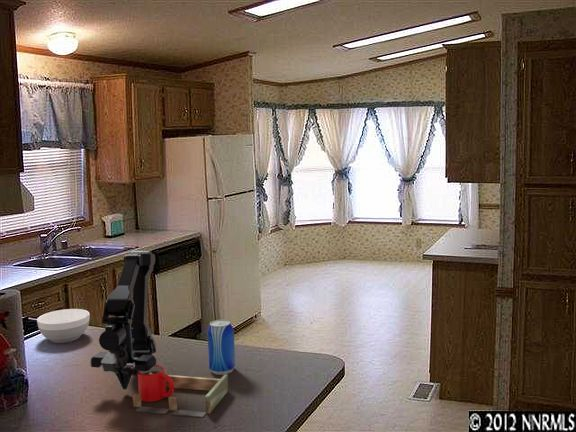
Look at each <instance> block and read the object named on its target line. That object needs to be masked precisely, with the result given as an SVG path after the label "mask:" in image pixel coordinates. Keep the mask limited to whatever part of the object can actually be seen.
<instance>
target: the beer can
mask: <svg viewBox="0 0 576 432" xmlns="http://www.w3.org/2000/svg"><path fill="white" fill-rule="evenodd" d="M206 331H207V332H206V334H207V351H208V353H207V354H208V365H209V366H208V368H209V370H210V371H211V373H212V374H214V375H219V376H223V375H229V374H230V373H232V372H233V371H234V370H235V368H236V351H235V331H234V327H233V325H232V324H231V321H230V320H227V319H216V320H213V321H210V322H209V326H208V328H207V329H206Z"/></svg>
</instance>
